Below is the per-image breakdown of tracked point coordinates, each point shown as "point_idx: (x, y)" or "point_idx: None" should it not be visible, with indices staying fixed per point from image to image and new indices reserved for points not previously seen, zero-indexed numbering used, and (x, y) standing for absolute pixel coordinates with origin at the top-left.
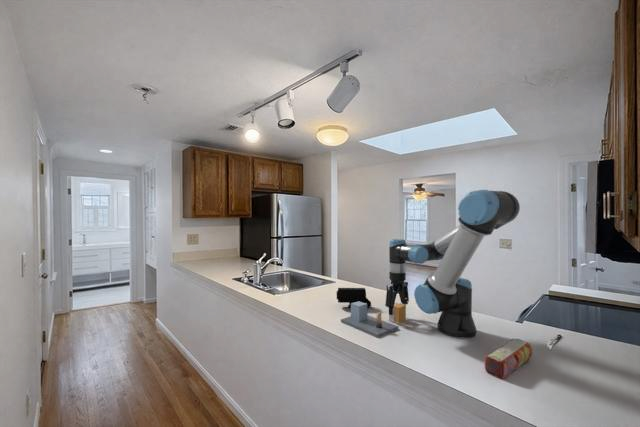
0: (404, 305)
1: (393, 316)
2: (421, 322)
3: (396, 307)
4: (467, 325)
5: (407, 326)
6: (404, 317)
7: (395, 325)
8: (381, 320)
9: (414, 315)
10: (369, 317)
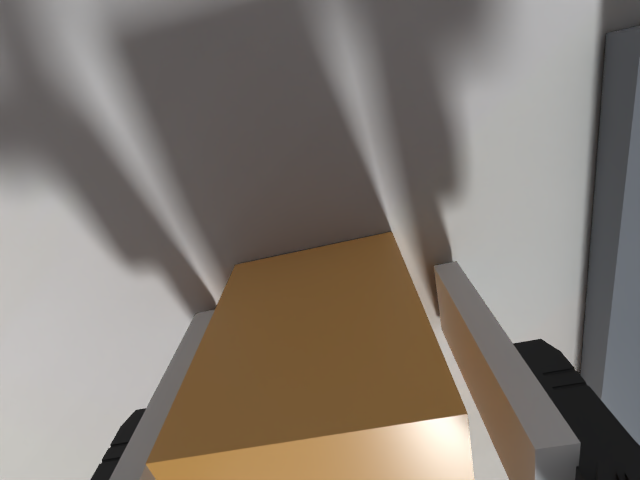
0: (180, 473)
1: (489, 314)
2: (52, 97)
3: (471, 456)
4: None
5: (381, 61)
6: (255, 282)
7: (638, 92)
8: (616, 334)
9: (25, 335)
10: None
